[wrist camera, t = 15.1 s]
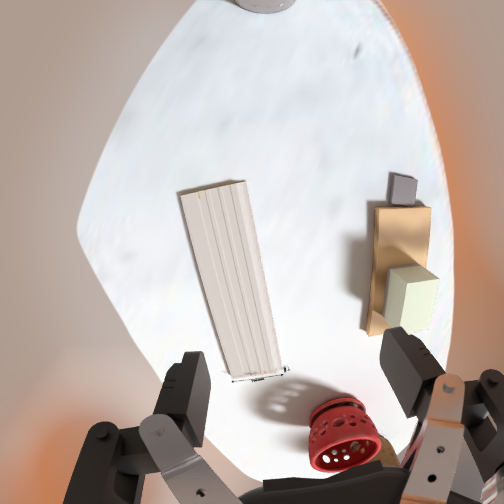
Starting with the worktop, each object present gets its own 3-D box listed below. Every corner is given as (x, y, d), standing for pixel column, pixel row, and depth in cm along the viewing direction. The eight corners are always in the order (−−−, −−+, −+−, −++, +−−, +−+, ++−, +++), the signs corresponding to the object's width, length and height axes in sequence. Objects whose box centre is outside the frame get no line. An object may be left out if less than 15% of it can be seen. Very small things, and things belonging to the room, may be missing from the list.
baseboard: (257, 178, 35) (182, 194, 36) (257, 179, 33) (177, 197, 33) (290, 364, 44) (232, 373, 45) (292, 375, 42) (231, 384, 42)
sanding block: (387, 266, 37) (407, 283, 31) (418, 263, 37) (439, 278, 31) (381, 315, 39) (397, 336, 34) (410, 310, 39) (428, 329, 33)
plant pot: (372, 386, 46) (392, 431, 35) (356, 426, 50) (369, 467, 39) (307, 393, 46) (318, 444, 35) (298, 432, 50) (305, 477, 39)
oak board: (374, 207, 36) (379, 209, 34) (425, 206, 36) (431, 207, 34) (365, 331, 42) (368, 336, 40) (411, 323, 42) (415, 327, 40)
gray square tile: (391, 174, 35) (395, 175, 34) (413, 179, 35) (417, 179, 34) (387, 202, 36) (391, 203, 35) (410, 205, 36) (414, 207, 35)
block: (389, 431, 52) (414, 493, 33) (384, 445, 54) (405, 502, 35) (348, 443, 52) (366, 510, 33) (346, 456, 55) (361, 517, 36)
